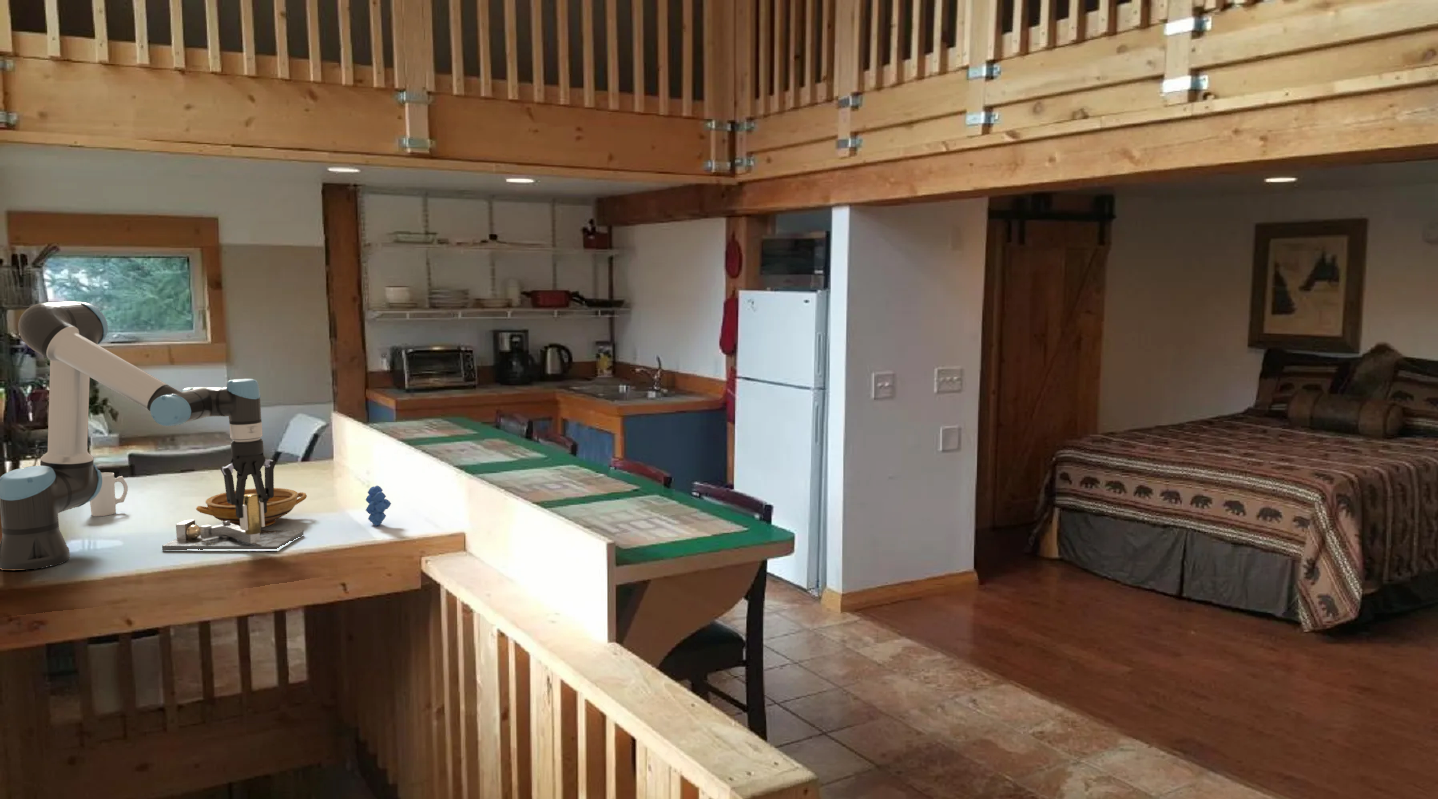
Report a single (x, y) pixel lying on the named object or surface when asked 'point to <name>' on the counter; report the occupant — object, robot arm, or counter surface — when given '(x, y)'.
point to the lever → (234, 530)
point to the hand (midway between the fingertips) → (252, 527)
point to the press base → (226, 539)
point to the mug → (107, 496)
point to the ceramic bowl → (227, 512)
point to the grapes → (377, 505)
